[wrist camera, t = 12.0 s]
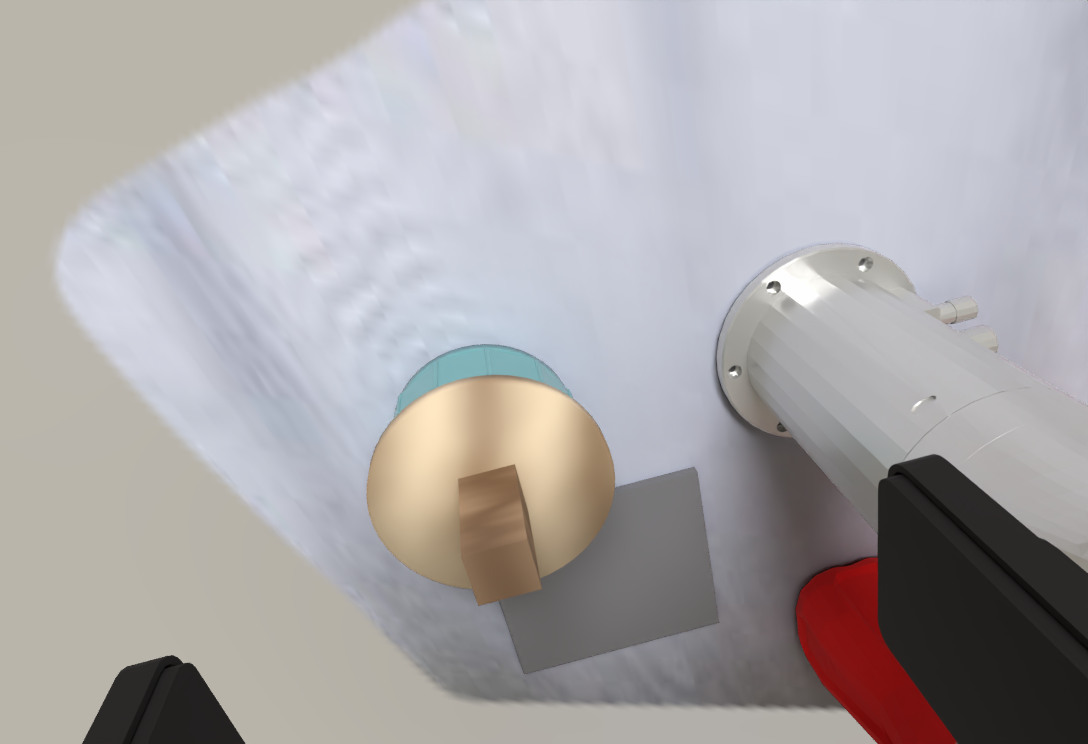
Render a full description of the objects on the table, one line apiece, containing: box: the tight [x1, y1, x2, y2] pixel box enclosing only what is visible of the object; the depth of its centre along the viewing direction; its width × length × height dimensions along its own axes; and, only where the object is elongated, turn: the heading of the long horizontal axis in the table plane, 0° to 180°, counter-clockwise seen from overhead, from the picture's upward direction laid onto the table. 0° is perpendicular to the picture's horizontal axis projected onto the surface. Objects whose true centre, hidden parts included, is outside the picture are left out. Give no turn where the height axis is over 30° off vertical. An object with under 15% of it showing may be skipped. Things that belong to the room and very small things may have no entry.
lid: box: [367, 375, 615, 606], centre depth 34 cm, size 13×13×7 cm
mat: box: [499, 467, 719, 674], centre depth 49 cm, size 15×14×1 cm
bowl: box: [394, 344, 573, 418], centre depth 40 cm, size 11×11×6 cm
